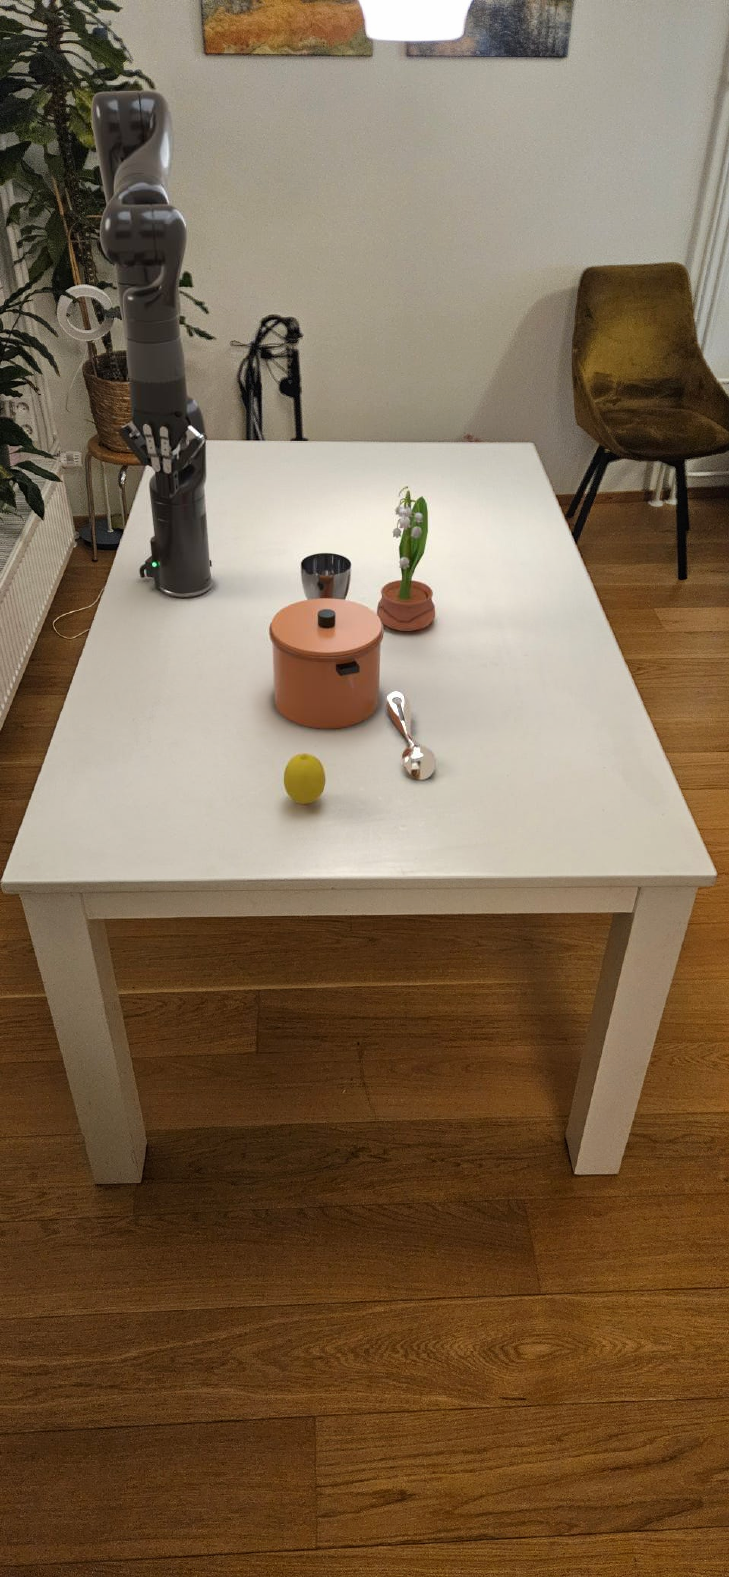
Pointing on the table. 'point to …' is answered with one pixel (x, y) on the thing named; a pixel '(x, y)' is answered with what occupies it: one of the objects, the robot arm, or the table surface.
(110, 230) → the robot arm
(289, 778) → the lemon
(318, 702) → the copper pot
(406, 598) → the potted flower
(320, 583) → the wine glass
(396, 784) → the table surface
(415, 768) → the silver elongated piece
